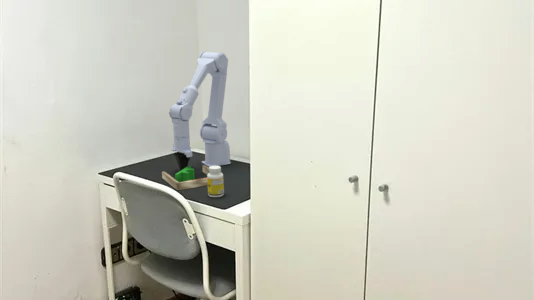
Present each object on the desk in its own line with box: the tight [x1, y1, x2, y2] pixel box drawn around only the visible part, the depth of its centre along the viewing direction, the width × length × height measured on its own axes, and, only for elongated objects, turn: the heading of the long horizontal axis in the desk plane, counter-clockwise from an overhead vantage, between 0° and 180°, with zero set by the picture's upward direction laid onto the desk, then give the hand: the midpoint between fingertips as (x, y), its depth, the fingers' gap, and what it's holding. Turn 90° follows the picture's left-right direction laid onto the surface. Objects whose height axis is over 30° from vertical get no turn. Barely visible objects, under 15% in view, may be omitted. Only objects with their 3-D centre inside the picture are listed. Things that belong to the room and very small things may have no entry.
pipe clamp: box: [174, 165, 196, 182], centre depth 208 cm, size 11×4×5 cm, turn 163°
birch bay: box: [161, 164, 210, 191], centre depth 209 cm, size 17×16×3 cm
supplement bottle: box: [206, 165, 225, 198], centre depth 193 cm, size 5×5×10 cm
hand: (183, 171), depth 217 cm, fingers closed
